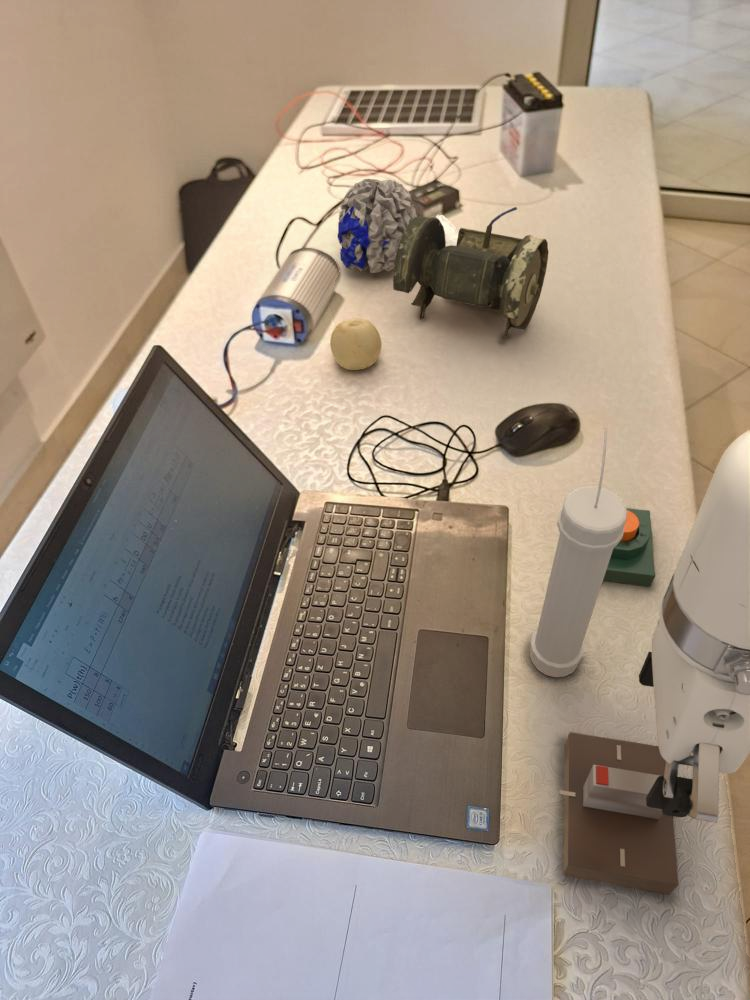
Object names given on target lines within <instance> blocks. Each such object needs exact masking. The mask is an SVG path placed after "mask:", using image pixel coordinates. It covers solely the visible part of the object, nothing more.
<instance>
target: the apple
mask: <svg viewBox="0 0 750 1000" xmlns="http://www.w3.org/2000/svg"><path fill="white" fill-rule="evenodd" d="M329 342H330V343H329V344H330V345H329V346H330V351H331V354H332V356H333V358H334V360H335V361H336V363H337V364H338V365H339V366H341V367H342V368H344V369H346V370H349V371H358V370H364V369H367V368H370V367H371V366H372V365H374V363H376V362H377V360H378V359H379V357H380V354H381V351H382V339H381V335H380V333H379V330H378V329H377V327H376V326H375V324H373V323H372V322H371V321H370V320H369V319H366V318H350V319H347V320H346V319H345V320H343V321H342V322H340V323H338V324H337V325H336V326H335V327H334V328H333V330H332V332H331V335H330V341H329Z"/></svg>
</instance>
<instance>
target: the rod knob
mask: <svg viewBox="0 0 750 1000" xmlns="http://www.w3.org/2000/svg"><path fill="white" fill-rule="evenodd" d="M658 777H659V775H653V774H647V773H641V772H635V771H629V770H623V769H617V768H611V767H605V766H598V765H593V767H592V769H591V771H590V773H589V775H588V778H587V780H586V782H585V784H584V786H583V806H585V807H590V808H596V809H602V810H607V811H613V812H619V813H625V814H630V815H636V816H642V817H648V818H653V819H660V817H661V816H662V815H663V813H662V809H657V808H651V807H648V806H647V805H646V797H647V795H648V793H649V792H650V790H651V788H652V786H653V785H654V783H655V781H656V779H657V778H658Z"/></svg>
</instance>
